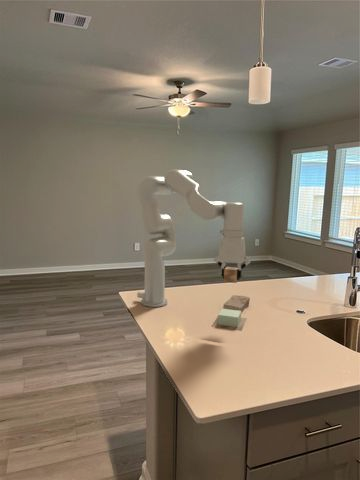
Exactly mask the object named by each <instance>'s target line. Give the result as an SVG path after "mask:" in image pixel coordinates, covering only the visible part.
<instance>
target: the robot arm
mask: <svg viewBox="0 0 360 480" xmlns="http://www.w3.org/2000/svg"><path fill="white" fill-rule="evenodd" d="M136 189H137V191H136V193H137V194H136V195H137V199H138V201H139V206H140V216H141V222H142V223H141V224H142V228H143V231H144V233H145V234H146V235H149V236H152V235H153V236H155V235H158V236H156V237H150V238H148V239H147V240H145V241H144V242H143V244H142V254H143V261H144V292H137V293H136V295H137V296H136V297H137V298H141V300H140V301H141V302H140V303H141V305H143V306H144V307H148V308H149V307H150V308H158V307H164V306H166V305H167V304H168V302H169V301H168V299H167V298H166V297H165V290H166V289H165V287H166V286H165V285H166V284H165V280H166V279H165V278H166V273H165V272H166V271H165V270H166V267H165V262H164V260H163V257H168V256H170V255H172V254H174V253H175V251H176V249H177V241H176V234H175V233H176V232H175V227H174V221H173V218H171V216H170V215H168V214H167V213H160V206H159V203H158V201H157V198H156V197H155V195H156V196H166V195H173V194H175V193H176V194H177V195H178V196H180V198H182V199H184V200H185V201H186V204H187V206H188V208H189V209H190V210H191V211H192V212H193V213H194V214H195V215H197V216H198V217H200V218H201V219H203V220H205V221H209V222H213V221H220V220H221V221H222V220H223V229H221V230H219V234H220V235H222V236H220V242H219V249H218V254H217V255H216V256H215V257H214V258H213V261H214V262H215V263H216V264H217V266H219V267H220V269H221V277H222V279H223V280H224V269H225V268H226V267H227V264H237V268H238V270H237V280H238V281H239V280H240V279H241V278H242V270H243V269H244V268H245V267H247V266H248V265H249V264H251V260H250V258H249V257H248V256H247V255H246V242H245V237H243V234H244V233H243V231H244V230H243V229H244V208H245V207H244V204H243V203H242V202H229V201H228V202H227V201H223V200H222V201H220V200H219V201H218V200H216V201H214V200H213V201H209V200H208V199H206V198H205V197H204V196H202V195H201V194H200V191H201V186H200V184H199V183H197V182H196V181H194V176H193V174H192V173H191V172H190V171H188V170H185V169H170V170H168V171H166V173H165V175H164V176H163V175H162V176H161V175H148V176H145V177H143V178H141V180H140V181H139V183H138V185H137V188H136Z"/></svg>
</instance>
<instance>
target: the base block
mask: <svg viewBox="0 0 360 480" xmlns="http://www.w3.org/2000/svg"><path fill="white" fill-rule="evenodd" d="M217 317H218V324H219V325H226V326H233V327H238V326H239V323H240V321H241V318H242V312H241V311H238V310H230V309H223V308H222V309H221V310H220V312H219V313H218V314H217Z"/></svg>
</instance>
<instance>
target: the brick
mask: <svg viewBox="0 0 360 480" xmlns="http://www.w3.org/2000/svg"><path fill="white" fill-rule="evenodd" d="M249 305H250V297H249V296H247V295H236V294H235V295H234V294H233V295H231V296H230V298H229V299H227V300H226V301H225V302H224V303H223V307H222V309H230V310H238V311H241V313H242V312H243V311H244V310H245V309H248V306H249Z"/></svg>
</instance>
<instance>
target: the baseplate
mask: <svg viewBox="0 0 360 480" xmlns="http://www.w3.org/2000/svg"><path fill="white" fill-rule="evenodd" d="M246 321H247V318H246V317H241V321H240V323H239V326H238V327H233V326H226V325H219V324H218V316H217V317H216V318H215V320H214V321H213V323H212V325H211V327H214V328H220V329H227V330H235V331H241V332H242V331H243V328H244V326H245V323H246Z"/></svg>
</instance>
